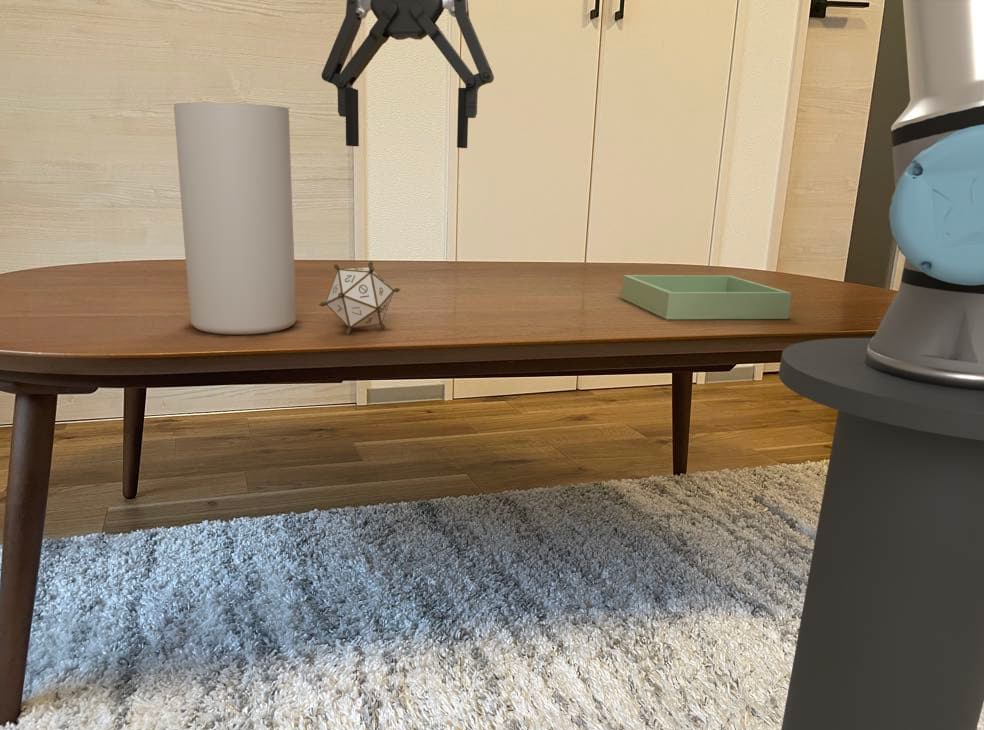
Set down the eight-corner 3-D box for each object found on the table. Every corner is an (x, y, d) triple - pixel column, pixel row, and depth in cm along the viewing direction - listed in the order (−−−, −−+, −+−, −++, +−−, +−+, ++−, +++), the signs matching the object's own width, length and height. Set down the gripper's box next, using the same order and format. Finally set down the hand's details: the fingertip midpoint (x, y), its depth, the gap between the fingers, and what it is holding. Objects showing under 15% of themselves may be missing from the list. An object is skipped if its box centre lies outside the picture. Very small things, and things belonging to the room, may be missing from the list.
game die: (362, 355, 97) (384, 285, 100) (397, 344, 90) (420, 269, 93) (299, 325, 92) (324, 252, 95) (331, 310, 85) (357, 232, 88)
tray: (788, 319, 107) (792, 292, 106) (666, 319, 104) (669, 292, 103) (727, 298, 123) (730, 275, 122) (621, 298, 121) (623, 275, 120)
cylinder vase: (187, 337, 88) (168, 100, 80) (194, 317, 99) (178, 108, 92) (299, 334, 90) (291, 105, 83) (293, 315, 102) (286, 112, 95)
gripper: (522, -47, 88) (513, 149, 94) (314, -41, 93) (319, 146, 99) (514, -66, 81) (505, 147, 87) (290, -58, 86) (296, 144, 92)
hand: (406, 147), depth 93 cm, fingers open, 13 cm apart
